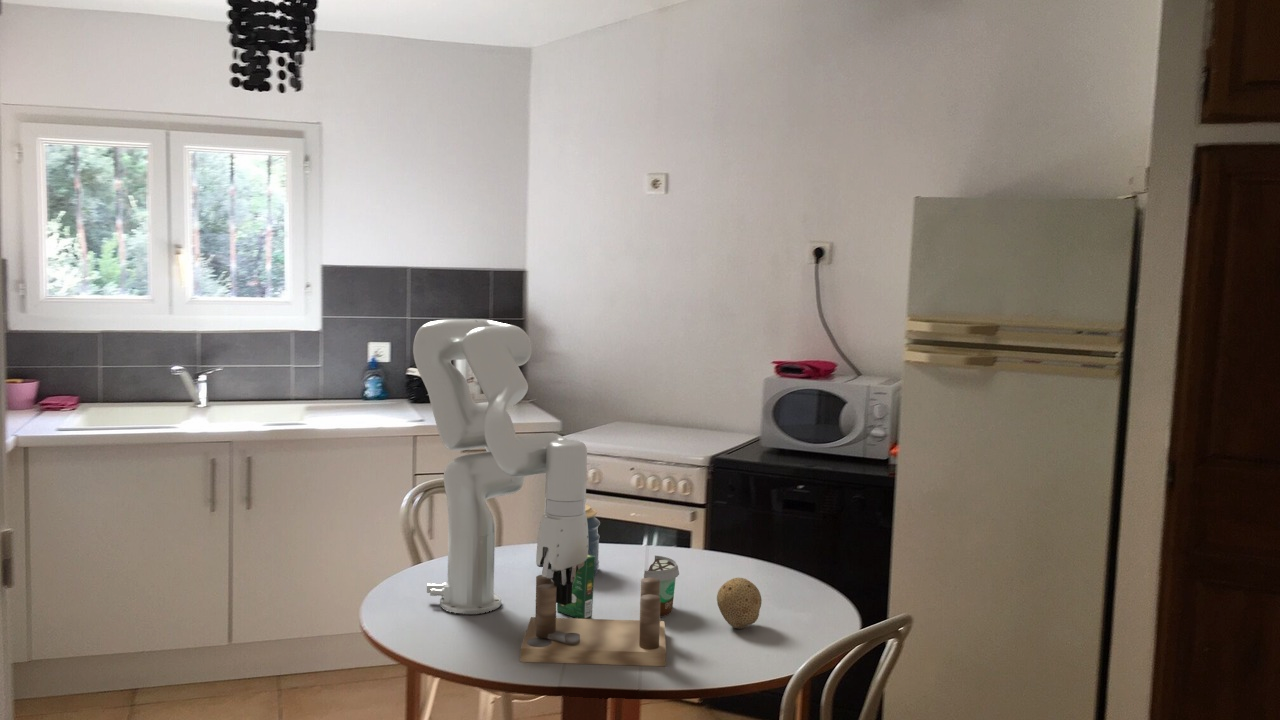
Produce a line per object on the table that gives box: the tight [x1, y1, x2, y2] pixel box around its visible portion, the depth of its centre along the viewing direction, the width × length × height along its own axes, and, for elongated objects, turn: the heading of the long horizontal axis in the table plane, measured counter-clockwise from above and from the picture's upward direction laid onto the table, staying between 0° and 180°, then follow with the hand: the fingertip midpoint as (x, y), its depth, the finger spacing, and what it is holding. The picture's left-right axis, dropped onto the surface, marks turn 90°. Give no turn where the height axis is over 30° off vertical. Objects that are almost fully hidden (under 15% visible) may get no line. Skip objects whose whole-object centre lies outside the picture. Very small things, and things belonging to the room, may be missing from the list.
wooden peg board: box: [519, 574, 667, 667], centre depth 186 cm, size 26×16×12 cm, turn 90°
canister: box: [585, 504, 601, 576], centre depth 232 cm, size 13×13×18 cm
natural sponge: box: [716, 577, 762, 630], centre depth 199 cm, size 9×9×10 cm
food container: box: [643, 555, 680, 618], centre depth 207 cm, size 12×6×10 cm, turn 168°
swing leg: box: [535, 584, 580, 645], centre depth 183 cm, size 9×4×9 cm, turn 58°
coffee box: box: [556, 555, 595, 619], centre depth 203 cm, size 8×3×13 cm, turn 49°
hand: (562, 602), depth 187 cm, fingers closed
